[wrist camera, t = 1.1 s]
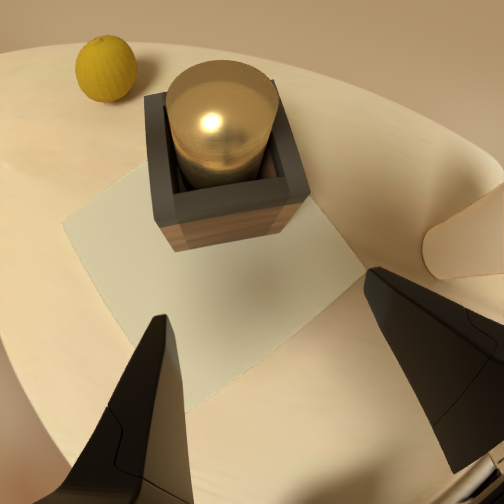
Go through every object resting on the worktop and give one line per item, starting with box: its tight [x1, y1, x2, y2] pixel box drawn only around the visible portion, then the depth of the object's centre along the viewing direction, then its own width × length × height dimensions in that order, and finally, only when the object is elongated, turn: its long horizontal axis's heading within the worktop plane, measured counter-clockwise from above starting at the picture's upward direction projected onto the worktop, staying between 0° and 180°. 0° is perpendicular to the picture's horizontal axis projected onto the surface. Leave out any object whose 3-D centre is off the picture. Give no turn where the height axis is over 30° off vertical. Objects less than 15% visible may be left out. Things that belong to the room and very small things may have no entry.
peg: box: [166, 60, 279, 192], centre depth 16 cm, size 5×5×8 cm
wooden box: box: [144, 80, 311, 253], centre depth 20 cm, size 8×8×8 cm
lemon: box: [75, 35, 137, 103], centre depth 21 cm, size 6×6×8 cm
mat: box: [61, 160, 367, 414], centre depth 23 cm, size 18×18×1 cm
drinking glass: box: [422, 182, 504, 280], centre depth 18 cm, size 7×7×15 cm
